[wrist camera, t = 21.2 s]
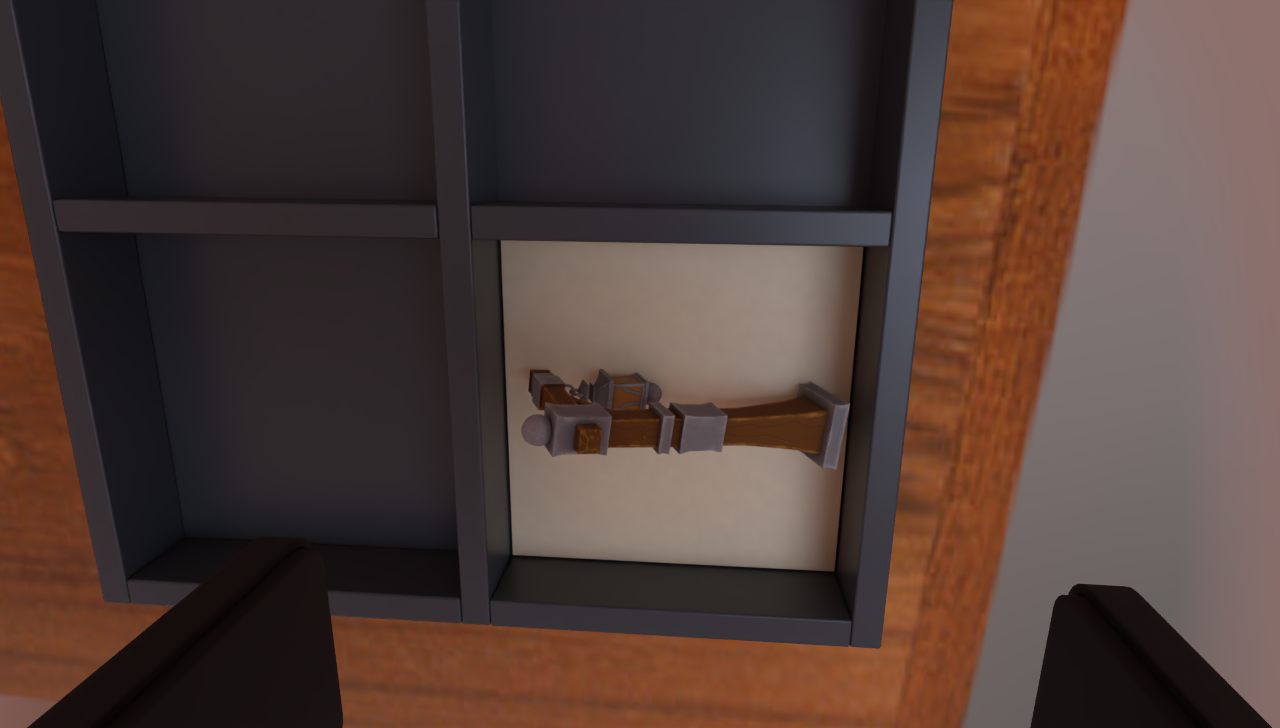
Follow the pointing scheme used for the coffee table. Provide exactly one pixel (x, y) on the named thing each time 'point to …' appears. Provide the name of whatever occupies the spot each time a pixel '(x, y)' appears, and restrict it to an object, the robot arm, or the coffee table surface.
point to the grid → (482, 292)
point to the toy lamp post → (677, 420)
